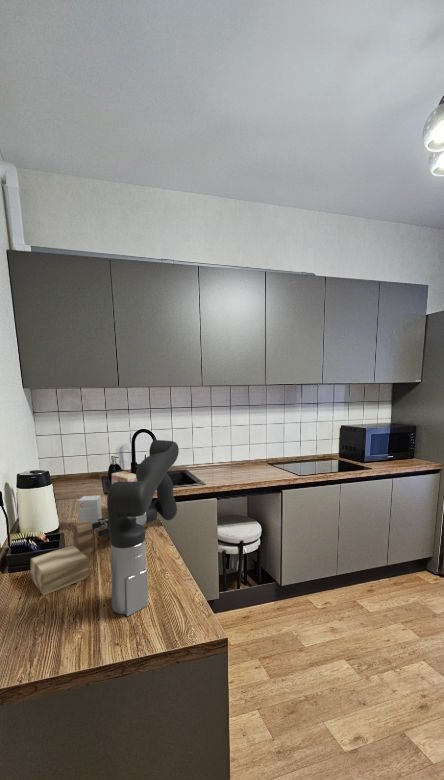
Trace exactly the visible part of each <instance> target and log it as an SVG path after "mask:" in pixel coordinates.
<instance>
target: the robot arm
mask: <svg viewBox="0 0 444 780" xmlns="http://www.w3.org/2000/svg"><path fill="white" fill-rule="evenodd" d="M179 449H180V448H179V446H178V444H177V442H175V441H173V440H163V439H155V440H153V441H152V442H151V443H150V446H149V450H148V451H149V456H146V458H144V459H143V460H142V461H141V462H140V463H139V464H138V466H137V468H136V470H135V474H136V479H137V481H136V482H115V483H113V484H112V483H111V485H110V487H109V489H108V491H107V497H106V498H107V499H106V505H107V516H104V517H102V518H101V519H98V522H96V523H93V524H92V529H93V531H95V530H94V529H97V528H99V529H98V530H97V537H99V538H102V537H104V536H108V535H109V538H110V581H111V582H110V585H111V586H110V587H111V588H110V591H111V609H112V611H113V612H114V613H117V614H118V615H125V616H126V617H129V616H131V615H132V614H134V613H136V612H138V611H140V610H143V609H144V608H146V607H147V606H149V595H148V593H149V591H148V587H149V585H148V570H147V566H146V565H147V564H146V563H147V560H146V557H147V553H146V552H147V551H146V549H147V548H146V529H145V527H144V525H147V524H149V523H152V522H154V521H156V520H157V517H158V514H159V515H160V516H161V518H163V520H166V521H171V520H173V519H174V518H175V517H176V515H177V511H178V505H177V501H176V499H175V495H174V483H173V480H172V478H171V477H170V475H169V474H168V473H167V472H168V471H169V470H170V468H171V467H172V466H173V465H174V464H176V463H175V462H177V459H178V456H179V451H180V450H179ZM155 493H156V496H157V499H156V500H154V501H153V498H154V496H155ZM102 528H103V529H102Z"/></svg>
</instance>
